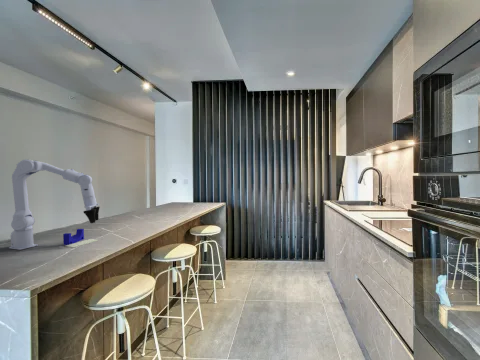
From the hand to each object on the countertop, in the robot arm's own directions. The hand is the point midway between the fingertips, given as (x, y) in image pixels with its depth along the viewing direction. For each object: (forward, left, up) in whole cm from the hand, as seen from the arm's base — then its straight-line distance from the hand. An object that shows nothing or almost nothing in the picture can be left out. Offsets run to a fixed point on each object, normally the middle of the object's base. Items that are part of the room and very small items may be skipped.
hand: (94, 221), depth 139 cm
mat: (-3, -5, -11) cm, 12 cm away
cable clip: (-10, -5, -11) cm, 16 cm away
